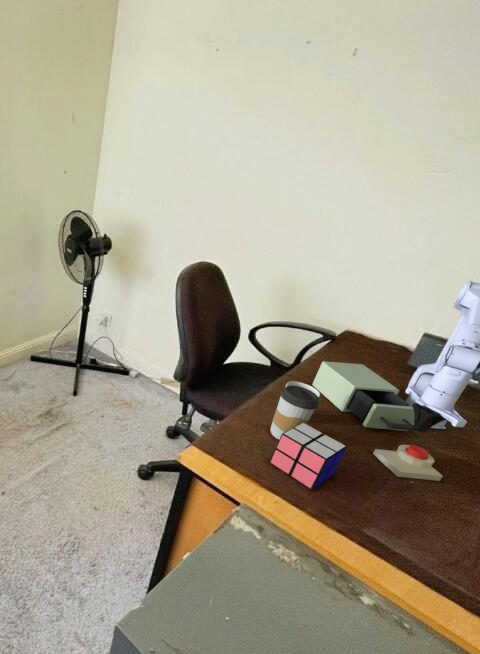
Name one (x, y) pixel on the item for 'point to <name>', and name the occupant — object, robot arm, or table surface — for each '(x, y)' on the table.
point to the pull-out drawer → (382, 410)
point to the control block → (408, 464)
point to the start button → (417, 452)
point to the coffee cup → (293, 409)
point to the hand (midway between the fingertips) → (419, 430)
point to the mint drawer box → (347, 382)
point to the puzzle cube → (307, 455)
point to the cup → (304, 387)
